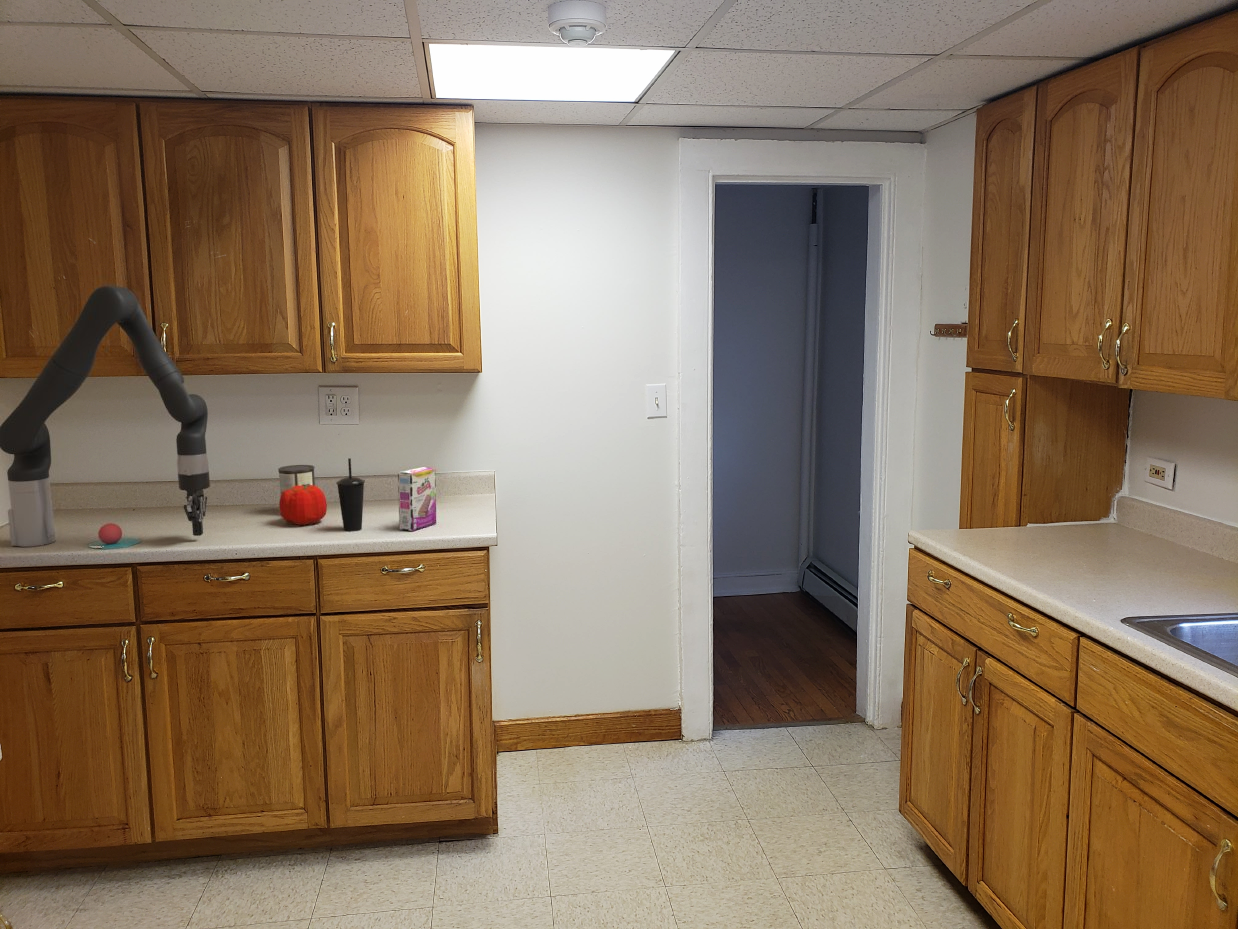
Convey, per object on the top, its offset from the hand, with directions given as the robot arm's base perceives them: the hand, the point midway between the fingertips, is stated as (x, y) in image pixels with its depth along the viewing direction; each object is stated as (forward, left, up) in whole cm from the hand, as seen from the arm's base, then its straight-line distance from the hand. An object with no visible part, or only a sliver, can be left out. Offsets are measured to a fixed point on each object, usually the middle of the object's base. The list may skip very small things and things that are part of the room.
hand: (198, 535), depth 252 cm
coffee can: (+20, +32, -2) cm, 38 cm away
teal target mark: (-21, 0, -2) cm, 21 cm away
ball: (-22, 0, +1) cm, 22 cm away
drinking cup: (+39, +7, -2) cm, 40 cm away
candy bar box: (+57, +7, -2) cm, 57 cm away
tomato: (+24, +18, -2) cm, 30 cm away
